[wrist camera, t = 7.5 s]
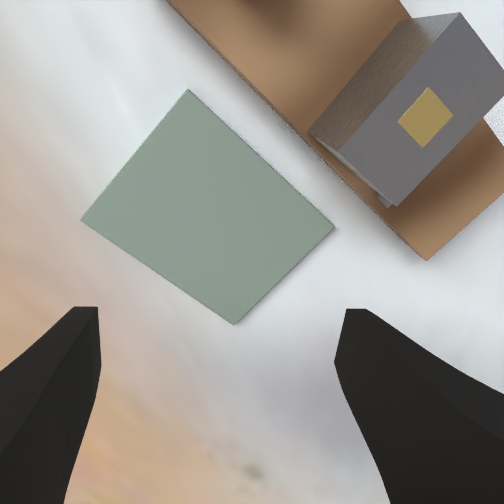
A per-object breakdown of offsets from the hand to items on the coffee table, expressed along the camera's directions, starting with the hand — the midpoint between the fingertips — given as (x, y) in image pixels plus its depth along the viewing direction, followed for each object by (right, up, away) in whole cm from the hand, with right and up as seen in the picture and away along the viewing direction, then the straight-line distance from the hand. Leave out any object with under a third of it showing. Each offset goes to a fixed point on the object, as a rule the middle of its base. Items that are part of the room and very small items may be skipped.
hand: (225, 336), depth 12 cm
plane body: (+5, +10, +7) cm, 14 cm away
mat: (-1, +4, +9) cm, 10 cm away
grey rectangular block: (+6, +9, +5) cm, 12 cm away
